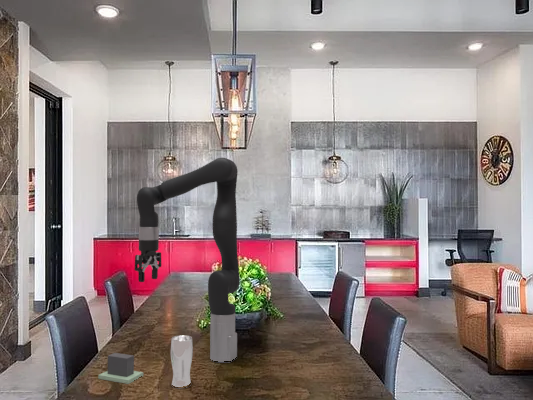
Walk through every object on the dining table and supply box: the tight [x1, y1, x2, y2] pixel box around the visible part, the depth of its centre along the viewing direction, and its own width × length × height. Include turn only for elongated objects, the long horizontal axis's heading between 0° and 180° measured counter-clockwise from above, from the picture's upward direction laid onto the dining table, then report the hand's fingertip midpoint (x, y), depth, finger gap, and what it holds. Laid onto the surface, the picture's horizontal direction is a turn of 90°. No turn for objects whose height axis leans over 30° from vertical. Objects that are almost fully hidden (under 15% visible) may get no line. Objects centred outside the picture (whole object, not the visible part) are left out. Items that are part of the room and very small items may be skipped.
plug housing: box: [107, 352, 135, 377], centre depth 165 cm, size 8×4×6 cm, turn 69°
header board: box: [97, 370, 144, 385], centre depth 165 cm, size 12×8×5 cm, turn 68°
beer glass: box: [170, 334, 194, 387], centre depth 158 cm, size 7×7×15 cm
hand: (148, 280), depth 192 cm, fingers open, 8 cm apart
